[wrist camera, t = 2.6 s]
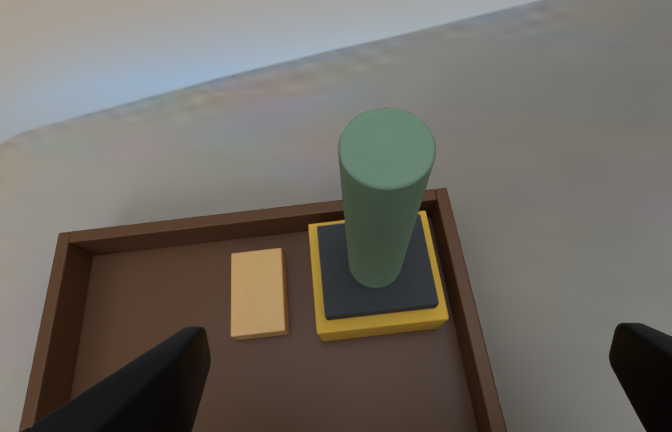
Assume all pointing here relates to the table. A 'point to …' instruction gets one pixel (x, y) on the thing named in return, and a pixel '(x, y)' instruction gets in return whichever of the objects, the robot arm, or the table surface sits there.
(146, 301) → the tray
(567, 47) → the table surface
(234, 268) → the tan rectangular slab
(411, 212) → the sponge wand
